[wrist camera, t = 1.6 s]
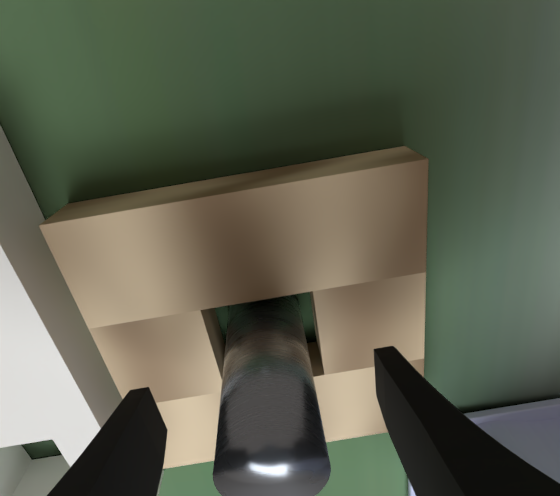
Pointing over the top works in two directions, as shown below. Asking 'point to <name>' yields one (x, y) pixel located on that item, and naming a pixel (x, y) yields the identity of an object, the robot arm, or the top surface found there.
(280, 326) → the steel peg
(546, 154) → the top surface
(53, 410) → the tool rack
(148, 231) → the socket block
